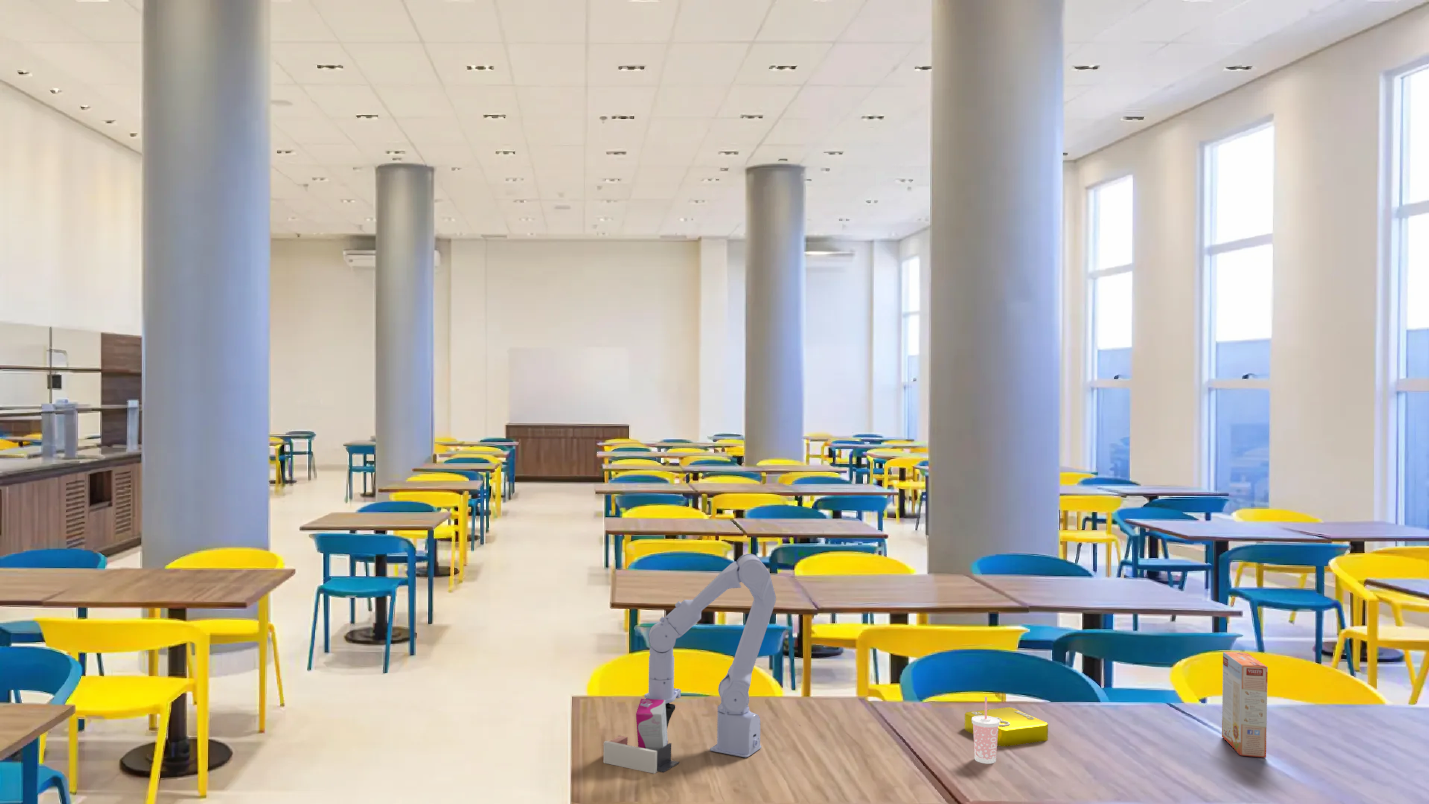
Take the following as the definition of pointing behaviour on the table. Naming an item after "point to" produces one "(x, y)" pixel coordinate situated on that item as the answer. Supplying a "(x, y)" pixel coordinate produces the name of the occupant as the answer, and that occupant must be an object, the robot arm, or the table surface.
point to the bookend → (665, 759)
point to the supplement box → (652, 724)
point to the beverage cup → (985, 737)
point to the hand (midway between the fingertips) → (660, 737)
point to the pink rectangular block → (620, 740)
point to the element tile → (1012, 726)
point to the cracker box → (1244, 704)
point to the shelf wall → (630, 757)
